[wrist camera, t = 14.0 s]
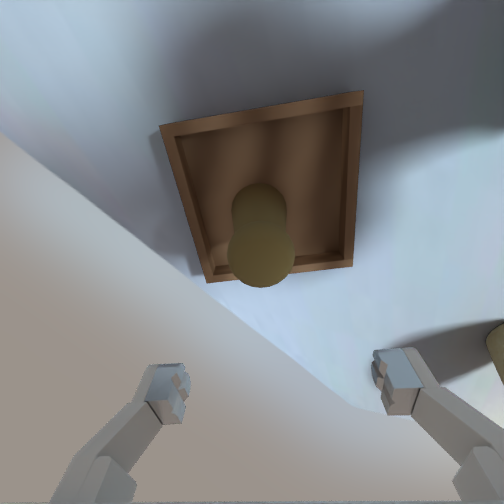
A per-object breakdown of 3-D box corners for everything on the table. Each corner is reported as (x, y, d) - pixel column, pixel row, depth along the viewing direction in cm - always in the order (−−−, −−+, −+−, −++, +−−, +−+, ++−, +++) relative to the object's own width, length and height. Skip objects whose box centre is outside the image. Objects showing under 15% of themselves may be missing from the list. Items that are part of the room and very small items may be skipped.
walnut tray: (351, 91, 22) (363, 90, 20) (344, 252, 31) (352, 266, 28) (169, 123, 24) (159, 125, 21) (210, 269, 32) (206, 283, 30)
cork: (263, 244, 29) (268, 311, 20) (220, 215, 28) (202, 274, 18) (298, 205, 27) (322, 260, 17) (253, 170, 25) (252, 211, 16)
